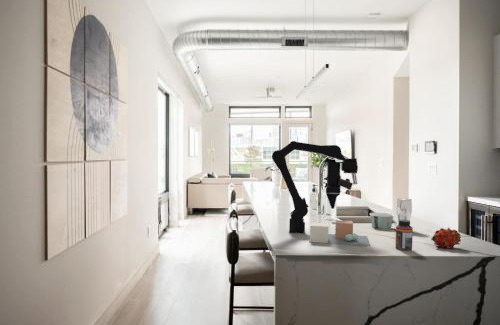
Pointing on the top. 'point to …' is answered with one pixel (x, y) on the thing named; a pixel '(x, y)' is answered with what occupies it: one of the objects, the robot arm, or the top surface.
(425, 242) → the top surface
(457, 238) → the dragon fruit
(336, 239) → the mat
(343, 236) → the salmon pink cube
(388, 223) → the food container
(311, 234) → the ivory rectangular chunk
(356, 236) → the marble
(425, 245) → the top surface
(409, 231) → the supplement bottle
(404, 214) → the beer glass
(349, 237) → the marble
